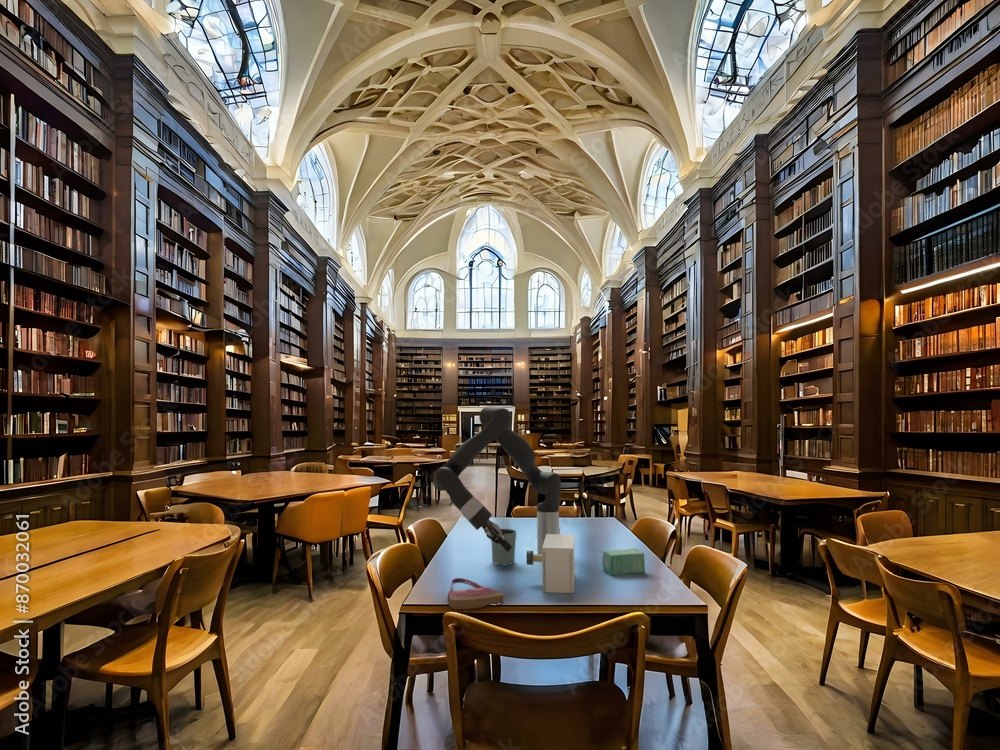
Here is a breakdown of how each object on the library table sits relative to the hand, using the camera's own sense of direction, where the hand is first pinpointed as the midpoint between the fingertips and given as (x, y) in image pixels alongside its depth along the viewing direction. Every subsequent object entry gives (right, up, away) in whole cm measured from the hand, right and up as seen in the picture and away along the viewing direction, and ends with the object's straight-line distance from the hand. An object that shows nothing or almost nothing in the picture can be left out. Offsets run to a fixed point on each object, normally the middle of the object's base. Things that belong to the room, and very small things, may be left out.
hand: (510, 549), depth 192 cm
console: (+17, -10, -3) cm, 20 cm away
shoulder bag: (-14, -10, -15) cm, 23 cm away
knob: (+10, -5, -2) cm, 11 cm away
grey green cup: (-2, -13, +24) cm, 28 cm away
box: (+42, -12, +10) cm, 44 cm away
